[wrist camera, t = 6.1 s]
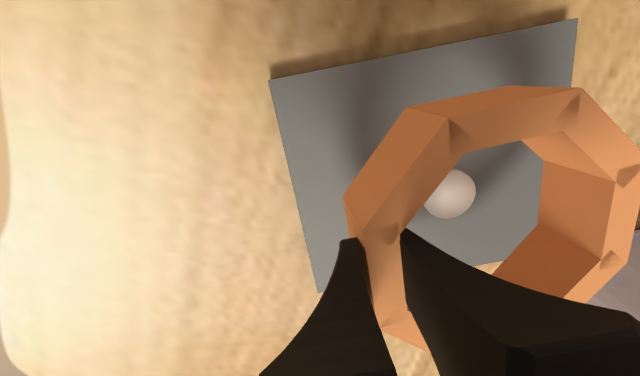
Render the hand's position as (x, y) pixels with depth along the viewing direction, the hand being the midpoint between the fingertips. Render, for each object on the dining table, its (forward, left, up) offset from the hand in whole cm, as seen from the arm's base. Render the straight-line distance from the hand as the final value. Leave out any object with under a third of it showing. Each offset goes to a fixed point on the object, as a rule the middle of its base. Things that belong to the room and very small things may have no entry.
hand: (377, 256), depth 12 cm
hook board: (-5, 0, -8) cm, 9 cm away
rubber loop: (-4, 0, -2) cm, 5 cm away
